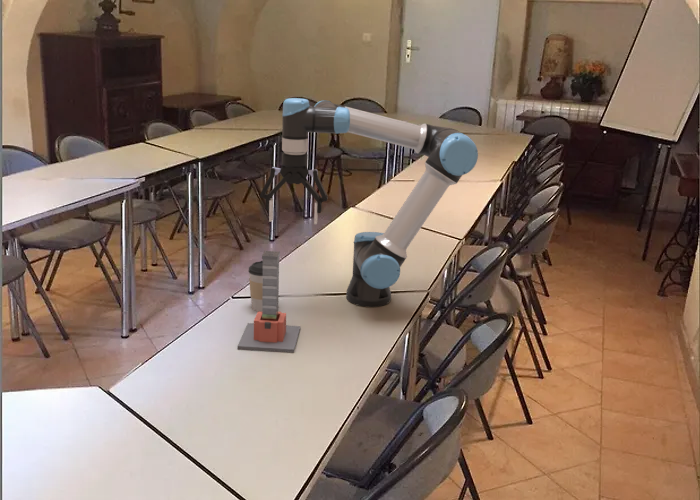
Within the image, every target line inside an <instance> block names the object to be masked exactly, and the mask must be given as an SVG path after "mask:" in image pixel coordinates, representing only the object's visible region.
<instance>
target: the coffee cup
mask: <svg viewBox="0 0 700 500" xmlns="http://www.w3.org/2000/svg"><path fill="white" fill-rule="evenodd" d="M248 273H249V274H248V276H249V279H248V281H249V291H250V293H249V294H250V300H251V301H250V302H251V309H252V310H253V311H256V312H258V311H259V312H262V295H263V288H262V286H263V260H260V261H256V262H253V263H252V264H251V265H250V266H248Z"/></svg>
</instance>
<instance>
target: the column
mask: <svg viewBox="0 0 700 500" xmlns="http://www.w3.org/2000/svg"><path fill="white" fill-rule="evenodd" d="M280 256H281V252H280V251H276V250H275V251H274V250H273V251H272V250H264V252H263V253H262V255H261V259H262V261H263V286H262V288H263V295H262V311H261V312H262V318H265V319H276V318H277V316H278V312H279V292H280V291H279V288H280V287H279V282H280V276H279V275H280Z"/></svg>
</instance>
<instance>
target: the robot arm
mask: <svg viewBox="0 0 700 500" xmlns="http://www.w3.org/2000/svg"><path fill="white" fill-rule="evenodd" d="M281 116H282V120H281V121H282V124H281V125H282V127H281V128H282V129H281V131H282V135H281V137H282V138H281V150H282V151H283V152H282V154H281V168H279V167H276V166H272V167H271V169H270V175H269V177H268V179H267V181H266V183H265V184H264V187H263V188H262V190H261V192H260V194H259V197H260V198H261V199H264V200H265V210H266V211H268V215H269V216H268V222H270V223H271V222H273V221H274V198H272V197H273V196H274V195H275V194H276V193H277V192H278V191H279V190H280V188H282V187H283V185H284V184H285V183H287V184H291V185H292V184H295V185H300V184H302V186H304V187H305V188H306V190H307V191H308V193H310V195H311V196H312V197H313V198H314V200H315V202H314V216H313V217H314V220H313V222H314V223H313V225H318V220H319V219H318V218H319V217H318V215H319V214H321V212H322V207H323V205H322V204H323V202H327V201H328V199H329V197H328V194H327V192H326V189H325V187H324V186H323V183H322V181H321V178H320V177H319V170H318V169H317V168H314V169H308V158H309V157H308V153H307V152H308V151H309V150H308V149H309V148H308V147H309V133H314V134H315V133H322V134H323V133H324V134H335V135H336V134H337V135H338V134H347V133H349V134H353V135H357V136H361V137H366V138H370V139H373V140H377V141H381V142H385V143H388V144H393V145H397V146H399V147H400V146H401V147H404V148H408V149H412V150H414V152H415V153H416V154H420V155H423V156H426V157H427V159H426V160H425V162H424V165H425V171H424V172H423V174H422V175H421V177H420V178H419V179H418V181H417V183H416V184H415V186H414V188H413V189H412V190H411V192H410V193H409V195H408V196H407V198H406V199H405V201H404V203H403V204H402V205H401V207H400V208H399V210H398V212H397V213H396V215H395V216H394V217H393V219H392V220H391V222H390V224H389V225H388V226H387V228H386V230H385V231H384V232H379V231H378V232H376V231H363V232H358V233H356V234H355V235H354V240H353V258H352V259H353V260H352V263H353V264H352V276H351V279H350V281H349V284H348V286H347V290H346V295H345V296H346V300H347V301H348V302H350V303H351V304H353V305H356V306H359V307H360V306H361V307H366V308H367V307H370V308H372V307H373V308H374V307H375V308H376V307H381V306H385V305H387V304H389V303H390V302H391V300H392V291H391V288H390V287H392V286H393V285H395V284H396V283H397V281H398V280H399V278H400V274H401V267H402V266H403V264H404V262H405V260H406V259H407V258H408V254H407V249H408V247H409V246H410V244H412V241H413V240H414V239H415V237H416V235H417V234H418V232H419V231H420V230H421V228H422V227H423V226H424V224H425V222H426V221H427V219H428V218H429V216H430V215H431V214H432V212H433V211H434V209H435V208H436V206H437V205H438V203H439V202H440V200H441V198H442V197H443V196H444V195H445V193H446V191H447V190H448V188H449V187H450V186H452V185H457V184H458V182H459V181H460V180H461V178H462V177H463V176H464V175H467V174H469V173H470V172H471V171H472V170H474V168H475V167H476V165H477V163H478V160H479V159H478V158H479V152H478V147H477V145H476V143H475V142H474V141H473V140H472V138H470V137H469V136H468V135H467V134H464V133H462V132H460V131H459V130H457V129H455V128H451V127H446V126H437V125H432V124H428V123H422V124H420V125H419V124H415V123H411V122H408V121H403V120H399V119H396V118H391V117H389V116H388V117H387V116H383V115H380V114H377V113H372V112H369V111H364V110H361V109H356V108H353V107H349V106H346V105H345V106H344V105H341V104H338V103H333V102H331V101H330V100H325V99H324V100H320V101H318V102H317V103H315V105H314V106H312V105H310V101H309V99H307V98H301V97H300V98H299V97H298V98H297V97H291V98H290V97H289V98H285V100H284V101H283V104H282V115H281ZM279 173H280V175H281V176H282V178H281V179H280V180H279V182H277V184H276V185H275V186H274V187H273V188H272V189H271V190H270V192H269V193H268V194H267V191H268V189H269V188H270V186H271V184H272V182H273V181H274V178H275V177H276V176H278V174H279ZM309 175H310V177H311V178H313V180H314V183H315V185H316V187H317V189H318V191H319V193H318V192H317V190H315V187H314V186H313V185H312V184H311V183H310V181H309V179H307V177H308V176H309ZM320 195H321V196H320Z"/></svg>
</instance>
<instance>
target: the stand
mask: <svg viewBox="0 0 700 500" xmlns="http://www.w3.org/2000/svg"><path fill="white" fill-rule="evenodd" d="M256 312H257V313H256V315H255V317H254V319H253V322H252V323H251V322H247V324H246V327H245V329H244V330H243V333H242V335H241V337H240V340H239V342H238V344H237V350H241V351H242V350H245V351H258V352H259V351H260V352H261V351H262V352H277V353H291V354H294V353H295V349H296V347H297V343H298V339H299V336H300V332H301V325H289V324H287V313H286V312H282V311H278V316H277V318H276V319H265V318H262V311H256Z"/></svg>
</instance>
